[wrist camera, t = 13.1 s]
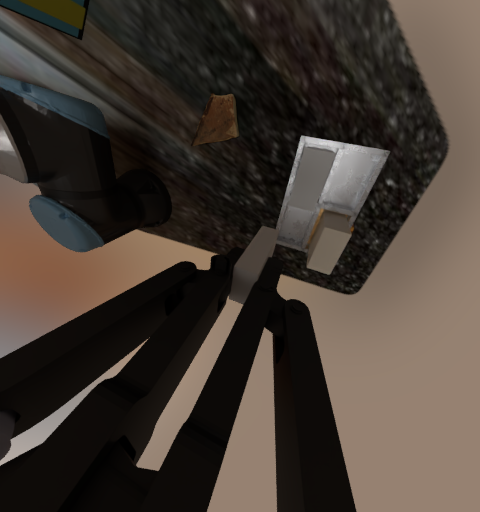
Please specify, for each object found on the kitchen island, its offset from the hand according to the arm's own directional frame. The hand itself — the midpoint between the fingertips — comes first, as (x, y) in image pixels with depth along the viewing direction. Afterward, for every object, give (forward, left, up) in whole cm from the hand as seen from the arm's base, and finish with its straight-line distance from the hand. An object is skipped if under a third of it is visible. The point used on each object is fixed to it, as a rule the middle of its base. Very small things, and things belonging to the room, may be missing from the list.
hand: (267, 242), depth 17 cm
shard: (-18, +7, -27) cm, 33 cm away
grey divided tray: (+5, -2, -26) cm, 27 cm away
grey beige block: (+8, -7, -26) cm, 28 cm away
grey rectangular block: (+2, +3, -26) cm, 26 cm away
